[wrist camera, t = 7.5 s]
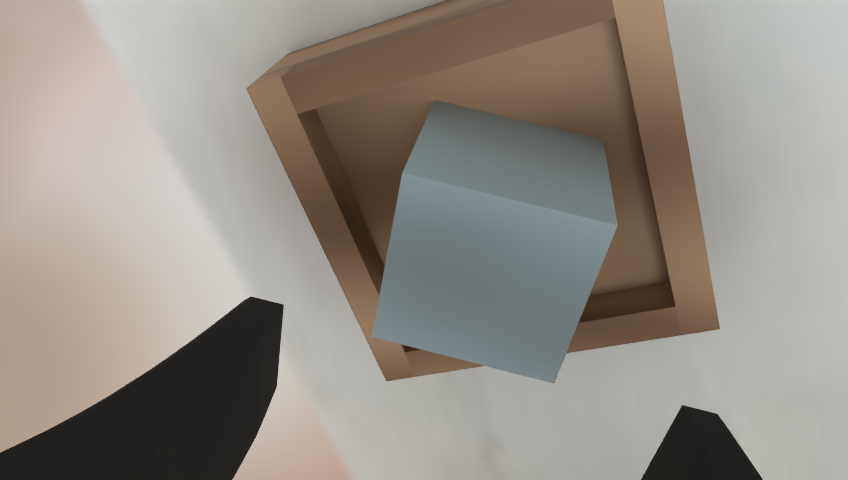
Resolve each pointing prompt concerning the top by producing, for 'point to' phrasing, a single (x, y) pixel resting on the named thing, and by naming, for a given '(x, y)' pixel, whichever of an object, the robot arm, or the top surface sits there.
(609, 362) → the top surface
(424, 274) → the block
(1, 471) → the robot arm
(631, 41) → the walnut base
